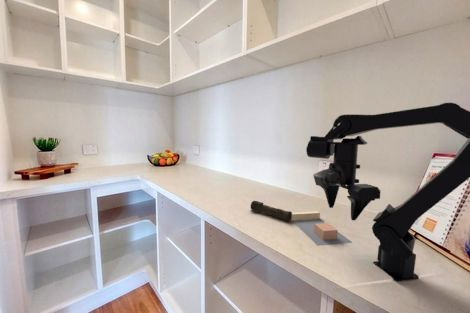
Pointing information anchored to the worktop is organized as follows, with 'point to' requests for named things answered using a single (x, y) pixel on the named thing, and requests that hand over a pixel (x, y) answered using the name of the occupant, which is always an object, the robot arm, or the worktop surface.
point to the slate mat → (307, 226)
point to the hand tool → (271, 211)
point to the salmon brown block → (325, 231)
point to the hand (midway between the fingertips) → (341, 213)
